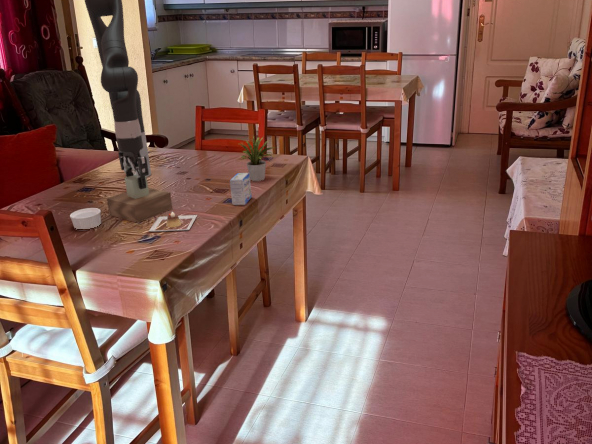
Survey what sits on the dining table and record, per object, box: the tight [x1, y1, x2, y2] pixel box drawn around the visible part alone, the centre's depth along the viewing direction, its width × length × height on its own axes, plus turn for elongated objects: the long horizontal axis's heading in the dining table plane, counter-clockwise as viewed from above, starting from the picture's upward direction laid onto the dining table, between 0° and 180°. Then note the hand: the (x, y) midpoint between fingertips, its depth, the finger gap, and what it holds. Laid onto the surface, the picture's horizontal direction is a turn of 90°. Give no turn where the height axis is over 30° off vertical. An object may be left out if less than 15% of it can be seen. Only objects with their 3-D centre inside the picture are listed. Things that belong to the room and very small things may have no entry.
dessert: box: [148, 211, 198, 233], centre depth 171 cm, size 12×12×5 cm
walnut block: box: [106, 187, 173, 224], centre depth 183 cm, size 14×14×6 cm
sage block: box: [124, 175, 149, 199], centre depth 181 cm, size 5×5×6 cm
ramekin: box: [69, 207, 102, 230], centre depth 174 cm, size 9×9×4 cm
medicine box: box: [229, 172, 253, 206], centre depth 187 cm, size 8×4×9 cm, turn 168°
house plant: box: [239, 134, 277, 182], centre depth 207 cm, size 14×14×16 cm
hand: (137, 186), depth 181 cm, fingers open, 7 cm apart
